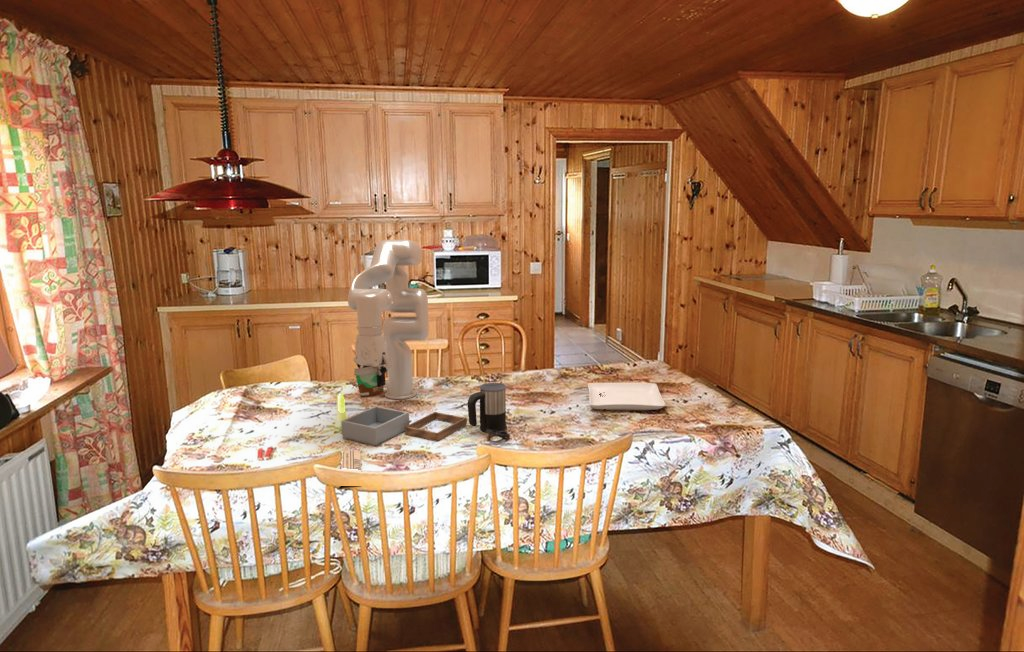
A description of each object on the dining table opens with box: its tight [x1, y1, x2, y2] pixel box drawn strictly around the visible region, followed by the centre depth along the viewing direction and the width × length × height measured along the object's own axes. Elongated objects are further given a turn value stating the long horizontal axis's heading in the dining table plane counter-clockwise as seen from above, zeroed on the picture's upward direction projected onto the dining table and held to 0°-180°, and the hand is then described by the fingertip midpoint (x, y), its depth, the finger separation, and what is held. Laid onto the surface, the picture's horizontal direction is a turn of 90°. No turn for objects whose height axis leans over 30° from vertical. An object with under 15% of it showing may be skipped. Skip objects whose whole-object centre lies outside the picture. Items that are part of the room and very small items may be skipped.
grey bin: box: [340, 405, 410, 447], centre depth 209 cm, size 15×17×6 cm
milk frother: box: [467, 382, 511, 440], centre depth 207 cm, size 14×16×15 cm
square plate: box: [587, 382, 666, 411], centre depth 238 cm, size 27×27×4 cm
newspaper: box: [341, 449, 362, 471], centre depth 183 cm, size 24×7×2 cm, turn 14°
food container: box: [353, 366, 385, 399], centre depth 205 cm, size 12×6×10 cm, turn 159°
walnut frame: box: [404, 411, 468, 442], centre depth 212 cm, size 14×17×2 cm
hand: (373, 383), depth 206 cm, fingers closed on food container, 5 cm apart
